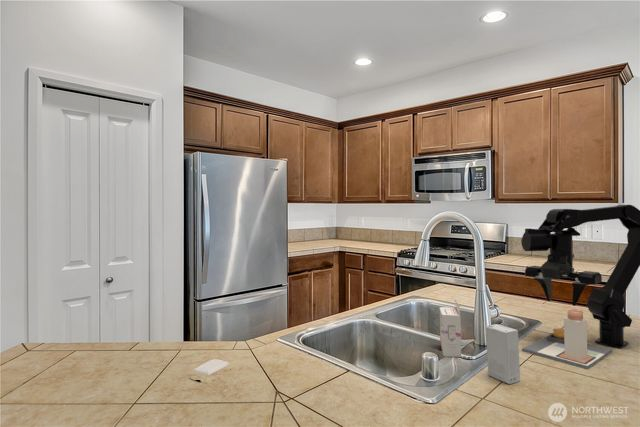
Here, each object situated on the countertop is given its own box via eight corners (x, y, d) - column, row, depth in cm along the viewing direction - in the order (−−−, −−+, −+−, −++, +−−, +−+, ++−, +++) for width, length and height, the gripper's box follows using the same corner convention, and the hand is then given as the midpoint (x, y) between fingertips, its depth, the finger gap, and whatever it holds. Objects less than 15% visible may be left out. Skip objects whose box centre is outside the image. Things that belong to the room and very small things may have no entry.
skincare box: (521, 381, 89) (520, 329, 89) (508, 385, 87) (507, 332, 87) (498, 371, 94) (497, 323, 94) (485, 375, 93) (485, 325, 92)
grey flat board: (550, 337, 118) (550, 331, 118) (612, 352, 105) (612, 345, 105) (522, 350, 108) (522, 343, 108) (587, 369, 95) (587, 361, 95)
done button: (557, 332, 116) (557, 327, 116) (573, 336, 112) (573, 331, 112) (550, 335, 113) (550, 330, 113) (567, 339, 110) (567, 334, 110)
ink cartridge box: (439, 345, 113) (438, 296, 113) (456, 346, 112) (456, 297, 112) (442, 356, 104) (441, 303, 104) (461, 357, 103) (460, 304, 103)
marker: (573, 353, 103) (572, 309, 103) (587, 357, 99) (586, 312, 99) (564, 355, 101) (564, 310, 101) (578, 360, 98) (577, 314, 98)
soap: (213, 366, 101) (213, 356, 101) (233, 371, 98) (233, 360, 98) (187, 380, 93) (187, 369, 93) (208, 385, 90) (208, 373, 90)
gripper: (515, 250, 115) (516, 301, 116) (587, 256, 100) (587, 314, 101) (533, 248, 122) (533, 296, 122) (602, 252, 107) (602, 307, 107)
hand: (561, 303), depth 113 cm, fingers open, 6 cm apart
